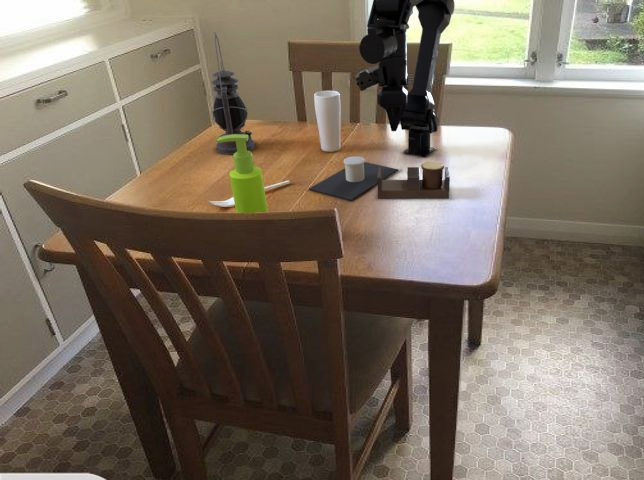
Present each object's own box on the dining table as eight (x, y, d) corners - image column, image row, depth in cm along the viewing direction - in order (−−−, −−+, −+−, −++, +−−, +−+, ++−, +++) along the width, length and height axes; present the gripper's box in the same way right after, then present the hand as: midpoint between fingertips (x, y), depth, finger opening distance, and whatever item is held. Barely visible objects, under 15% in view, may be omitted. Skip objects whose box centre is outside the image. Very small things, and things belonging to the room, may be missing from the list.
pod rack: (379, 187, 123) (378, 167, 120) (447, 187, 122) (448, 167, 120) (377, 198, 118) (377, 177, 115) (448, 198, 117) (449, 177, 114)
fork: (293, 185, 125) (293, 178, 124) (214, 212, 114) (213, 204, 113) (286, 181, 127) (285, 174, 126) (208, 207, 116) (206, 199, 115)
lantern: (254, 154, 143) (235, 35, 128) (213, 157, 142) (190, 37, 127) (256, 139, 154) (239, 27, 138) (218, 141, 153) (197, 29, 137)
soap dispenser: (237, 228, 107) (219, 131, 97) (272, 226, 108) (258, 129, 97) (233, 242, 102) (213, 142, 92) (269, 240, 103) (254, 140, 92)
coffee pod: (352, 173, 130) (351, 154, 127) (369, 177, 127) (369, 158, 125) (340, 180, 126) (339, 161, 124) (357, 184, 124) (356, 165, 121)
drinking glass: (339, 154, 142) (335, 97, 134) (315, 153, 143) (310, 96, 135) (346, 145, 148) (342, 90, 140) (322, 144, 149) (318, 89, 141)
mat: (358, 162, 137) (358, 160, 137) (398, 170, 131) (398, 169, 131) (308, 190, 123) (308, 188, 122) (351, 201, 117) (351, 199, 117)
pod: (427, 178, 122) (428, 159, 119) (447, 183, 119) (448, 163, 117) (416, 186, 118) (417, 166, 116) (436, 191, 116) (437, 170, 113)
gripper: (360, 46, 125) (363, 113, 133) (352, 64, 109) (356, 138, 117) (408, 46, 124) (408, 112, 132) (406, 63, 108) (407, 138, 116)
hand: (394, 124), depth 124 cm, fingers open, 9 cm apart
